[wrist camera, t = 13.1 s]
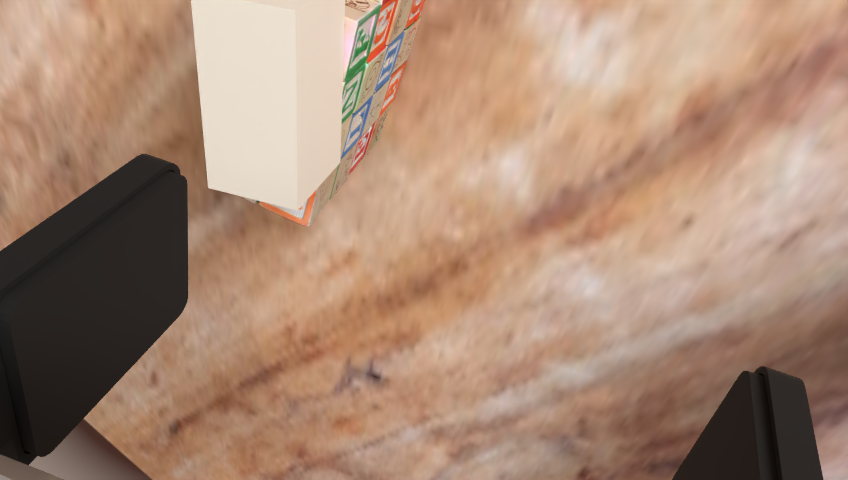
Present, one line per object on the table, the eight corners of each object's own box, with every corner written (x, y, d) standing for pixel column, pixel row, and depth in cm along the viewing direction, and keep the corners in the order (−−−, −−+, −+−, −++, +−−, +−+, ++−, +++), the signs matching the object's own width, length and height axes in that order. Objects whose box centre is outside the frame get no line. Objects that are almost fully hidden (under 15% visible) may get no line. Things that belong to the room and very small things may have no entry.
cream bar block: (345, -20, 31) (295, 10, 27) (340, 162, 36) (297, 210, 32) (252, -37, 32) (189, -10, 28) (259, 143, 37) (208, 188, 33)
